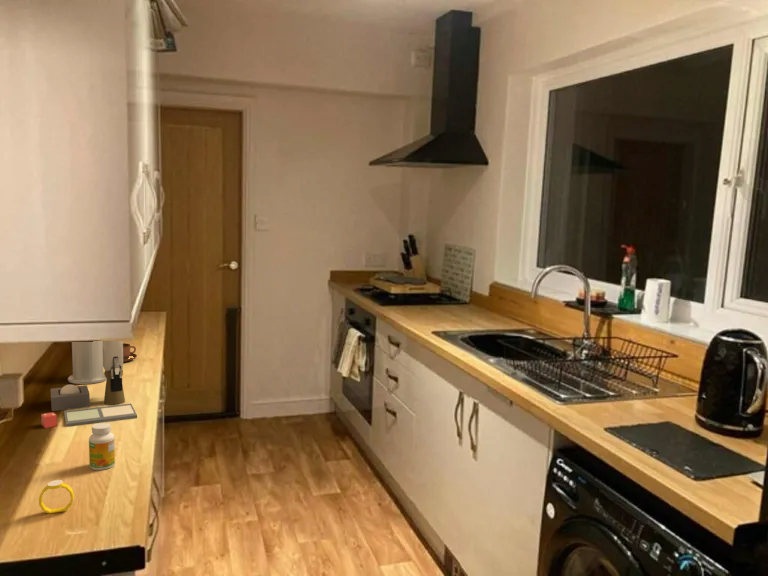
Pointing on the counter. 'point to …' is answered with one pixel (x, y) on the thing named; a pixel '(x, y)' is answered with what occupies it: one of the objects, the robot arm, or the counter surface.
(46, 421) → the red die
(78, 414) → the game board
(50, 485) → the watch
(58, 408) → the gray square holder
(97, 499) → the counter surface
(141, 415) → the counter surface
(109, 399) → the brown pepper mill
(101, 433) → the supplement bottle
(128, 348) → the cup and saucer
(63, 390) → the cream white ball
